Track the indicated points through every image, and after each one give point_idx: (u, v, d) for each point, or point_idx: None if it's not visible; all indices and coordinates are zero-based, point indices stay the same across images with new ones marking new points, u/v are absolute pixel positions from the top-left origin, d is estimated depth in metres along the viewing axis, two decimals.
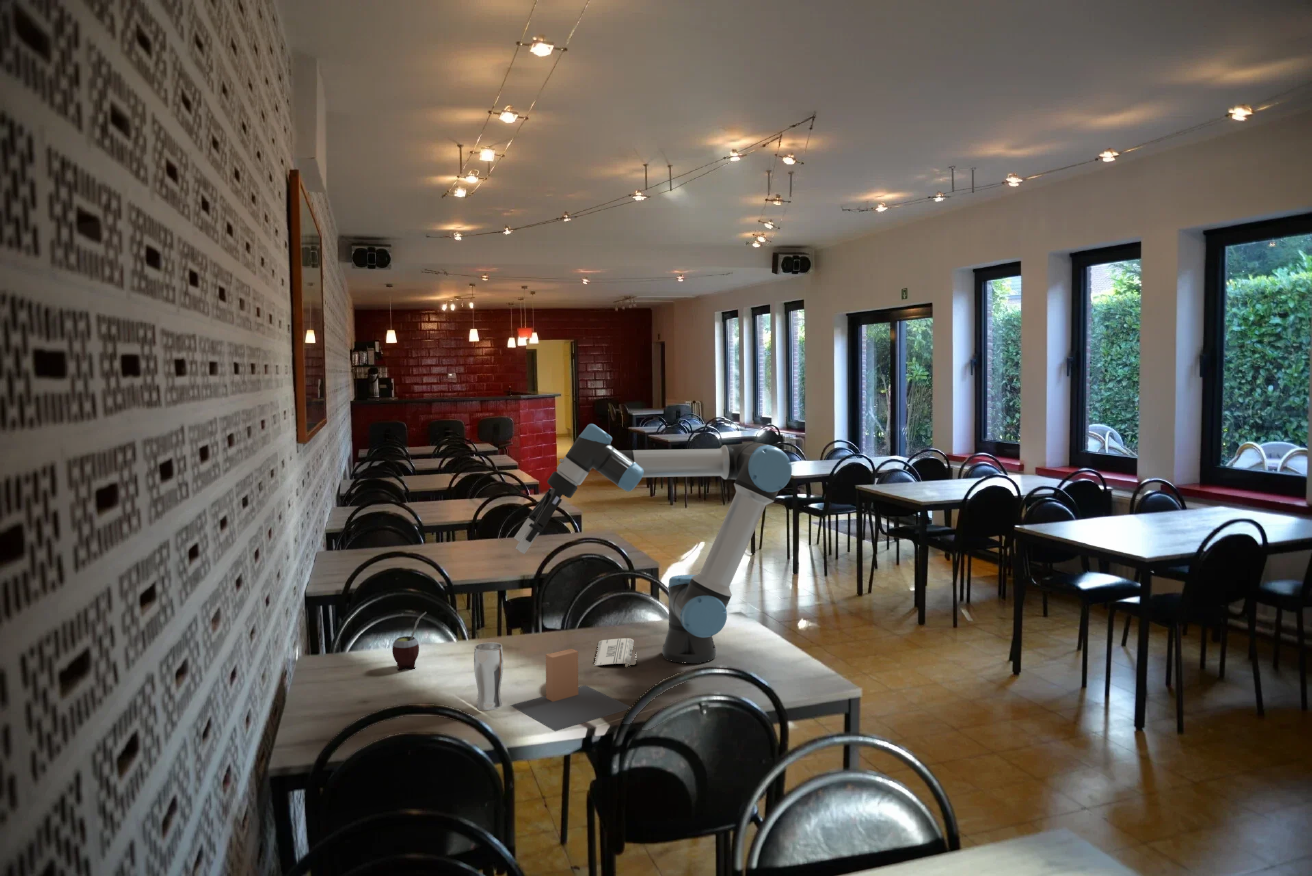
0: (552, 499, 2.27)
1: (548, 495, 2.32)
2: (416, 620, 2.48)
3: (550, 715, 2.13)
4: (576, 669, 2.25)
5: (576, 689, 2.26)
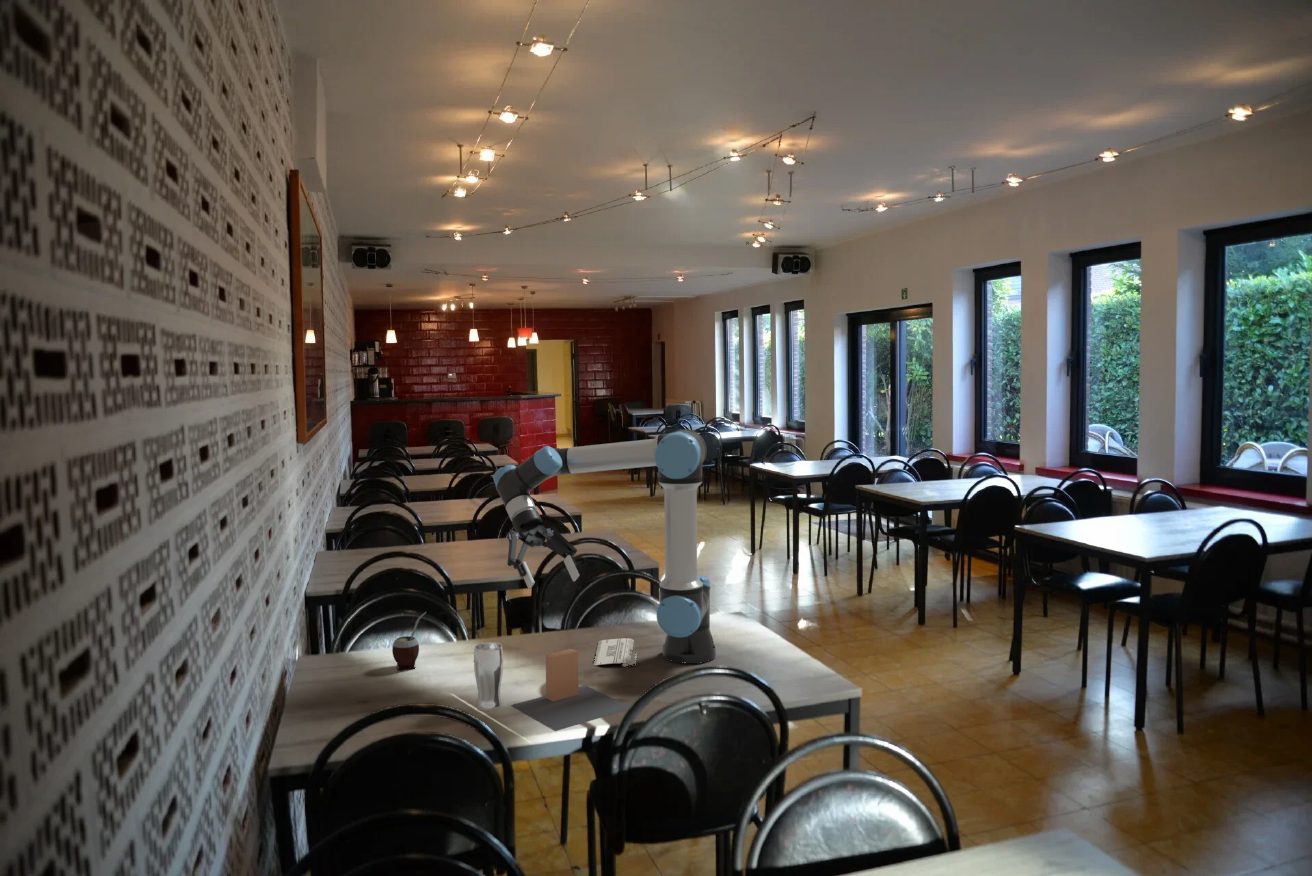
0: (508, 539, 2.38)
1: None
2: (416, 620, 2.48)
3: (550, 715, 2.13)
4: (576, 669, 2.25)
5: (576, 689, 2.26)
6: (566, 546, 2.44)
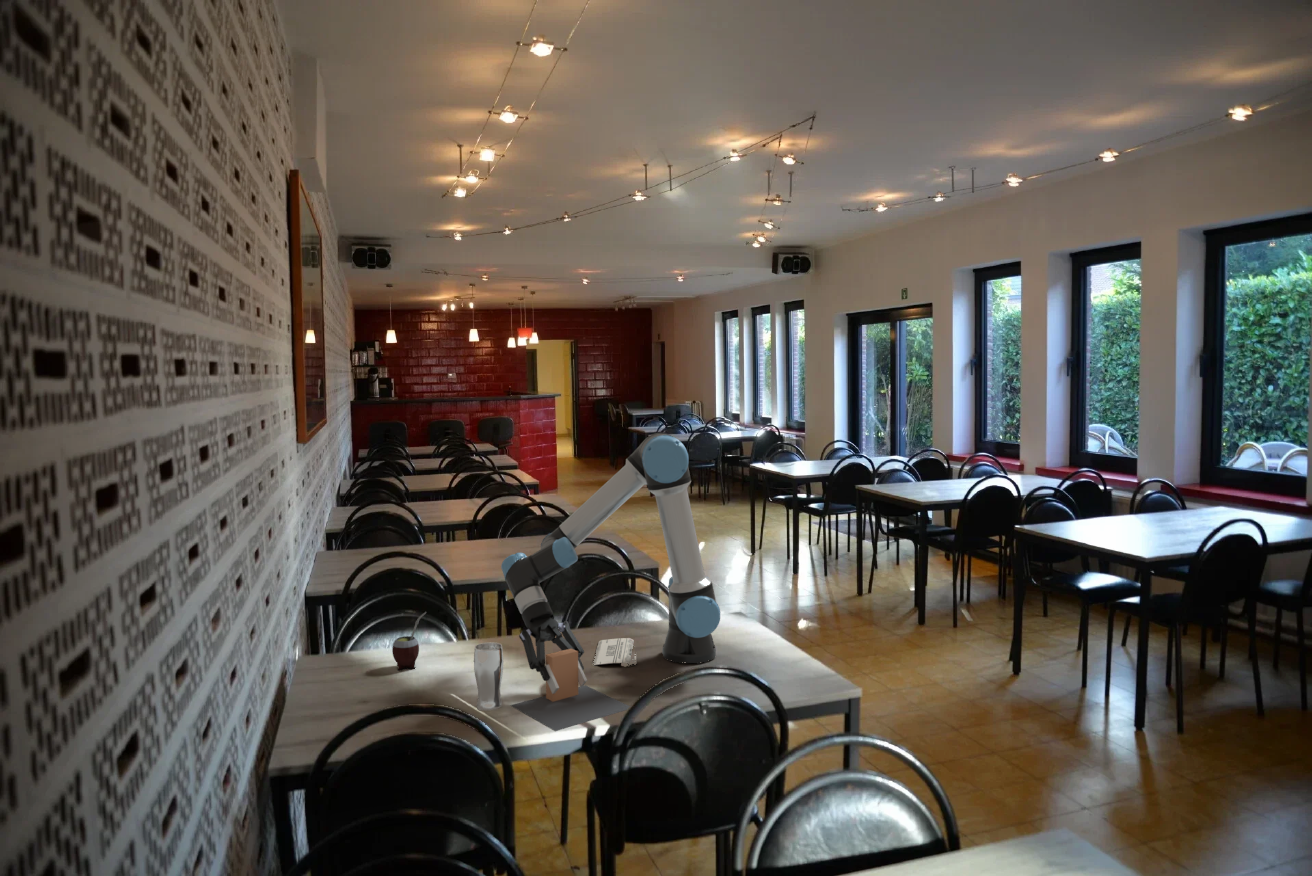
0: (521, 639, 2.26)
1: None
2: (416, 620, 2.48)
3: (550, 715, 2.13)
4: (576, 669, 2.26)
5: (576, 689, 2.26)
6: (574, 645, 2.31)
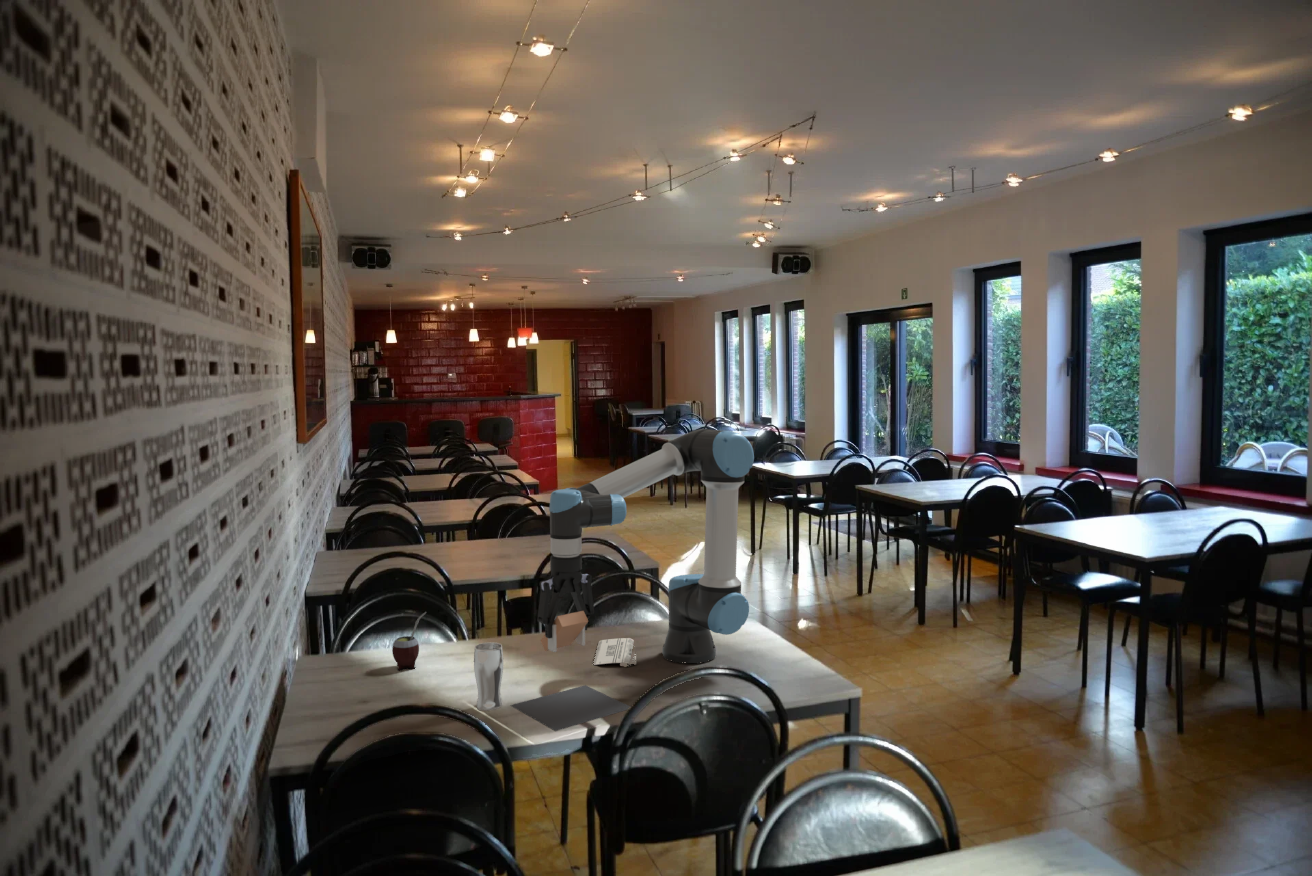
0: (540, 587, 2.16)
1: None
2: (416, 620, 2.48)
3: (550, 715, 2.13)
4: (579, 631, 2.22)
5: (571, 642, 2.25)
6: (587, 602, 2.23)
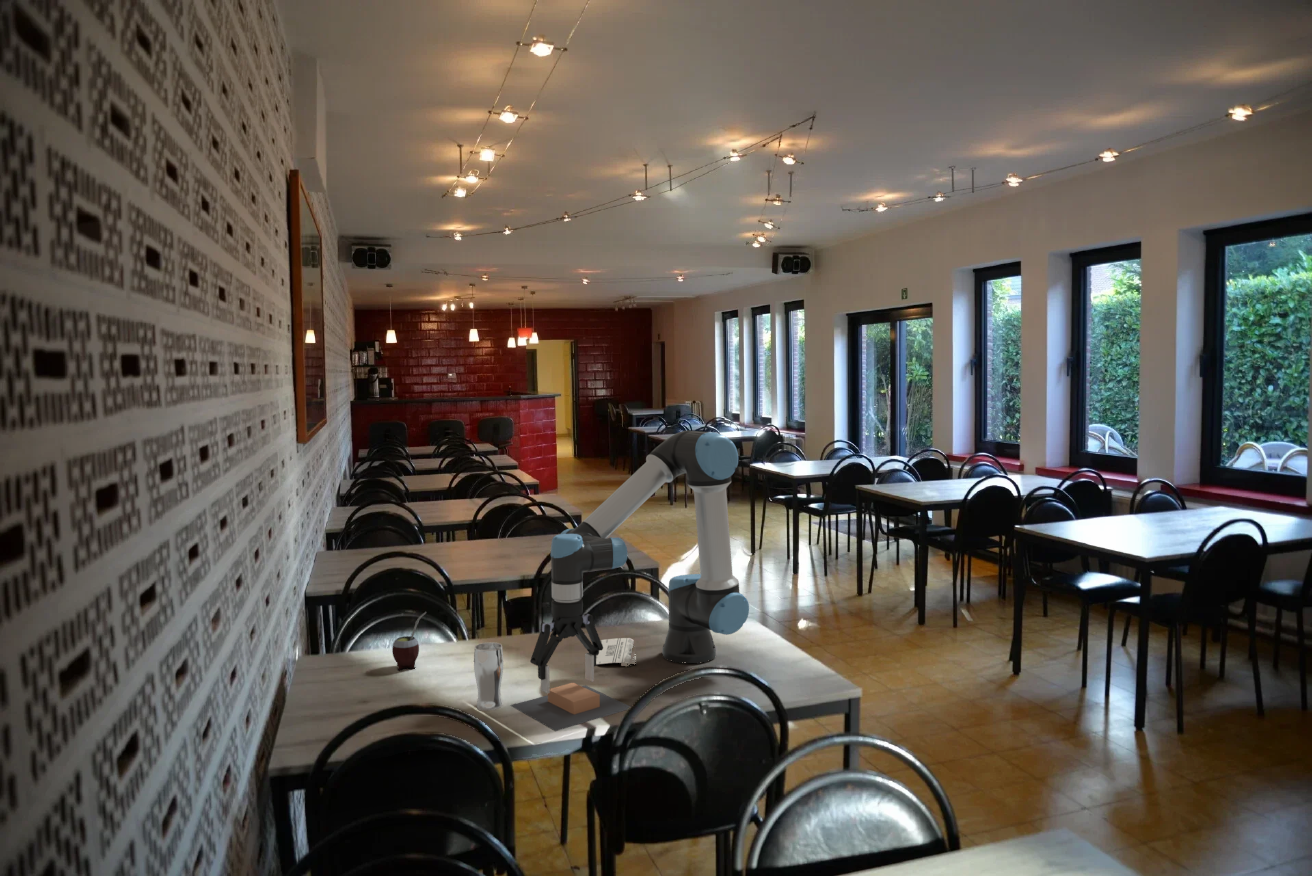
0: (541, 628, 2.16)
1: None
2: (416, 620, 2.48)
3: (550, 715, 2.13)
4: None
5: None
6: (594, 640, 2.25)
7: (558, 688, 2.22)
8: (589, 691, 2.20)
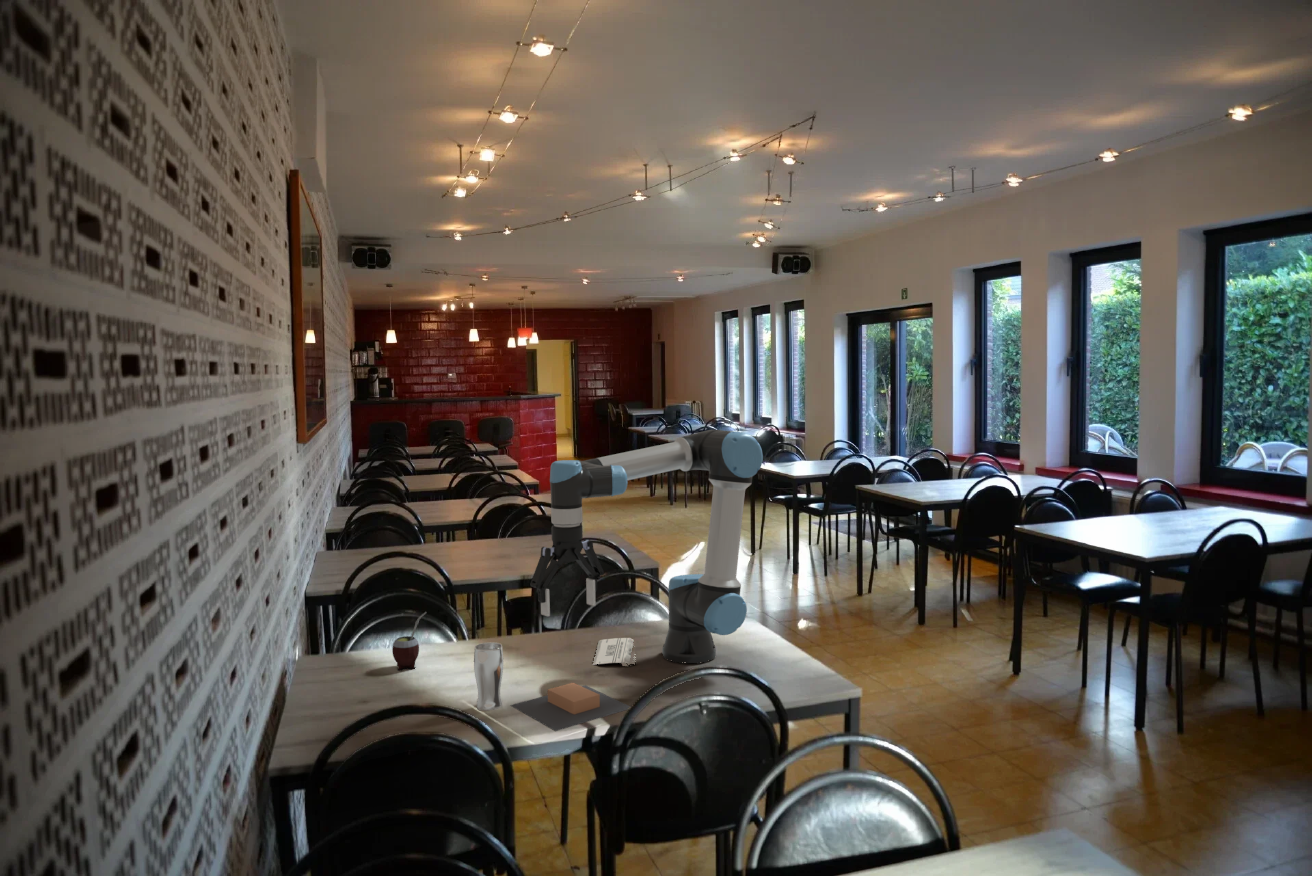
0: (541, 552, 2.18)
1: None
2: (416, 620, 2.48)
3: (550, 715, 2.13)
4: None
5: None
6: (595, 566, 2.27)
7: (558, 688, 2.22)
8: (589, 691, 2.20)
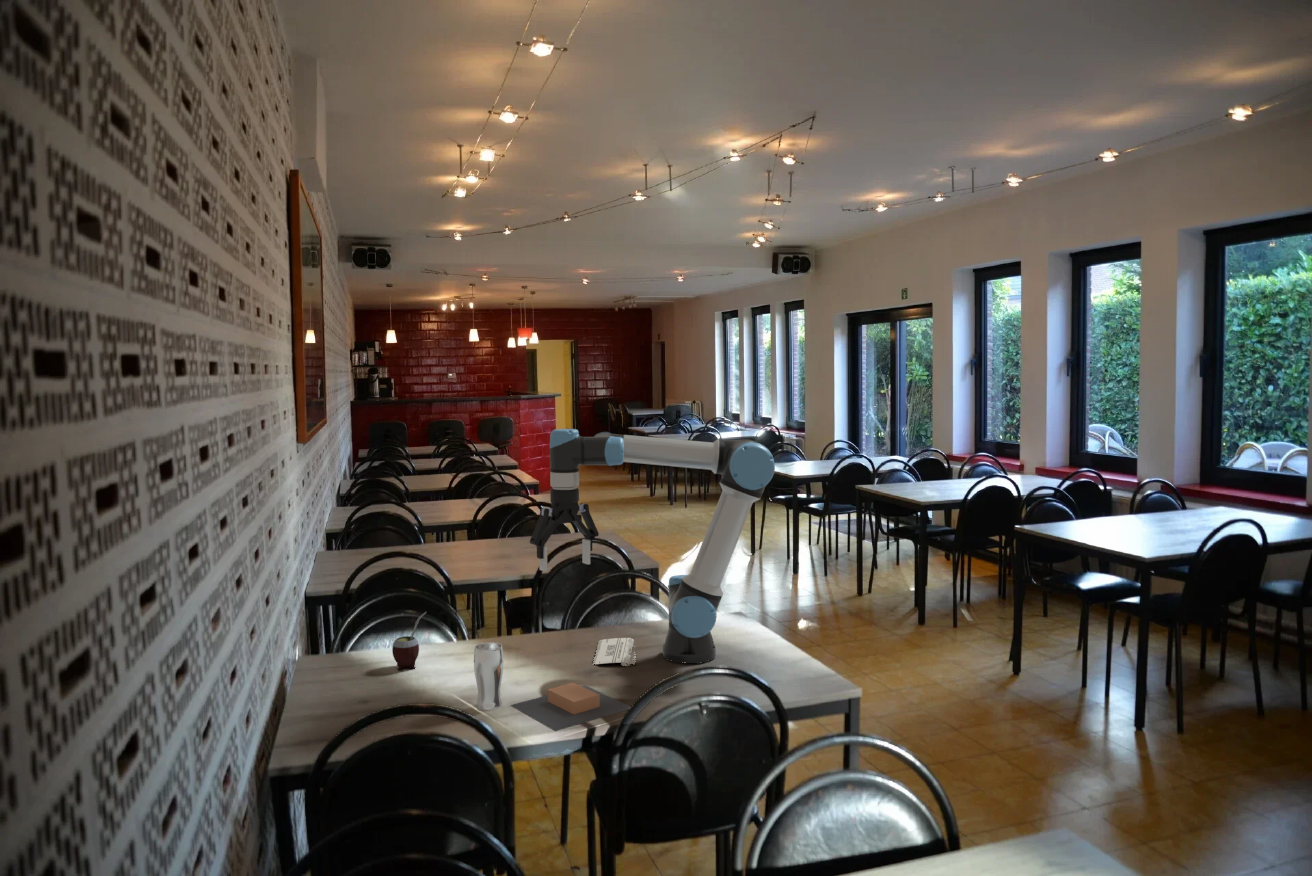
0: (540, 512, 2.37)
1: None
2: (416, 620, 2.48)
3: (550, 715, 2.13)
4: None
5: None
6: (590, 527, 2.45)
7: (558, 688, 2.22)
8: (589, 691, 2.20)
